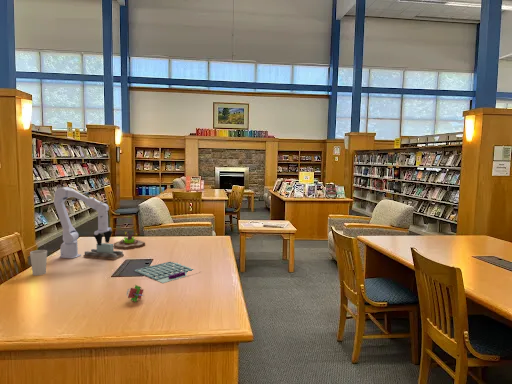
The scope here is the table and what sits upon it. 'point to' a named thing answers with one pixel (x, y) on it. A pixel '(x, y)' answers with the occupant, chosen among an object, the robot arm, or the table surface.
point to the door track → (103, 255)
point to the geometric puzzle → (135, 293)
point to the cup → (38, 262)
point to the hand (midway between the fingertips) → (103, 243)
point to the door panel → (105, 248)
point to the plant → (129, 243)
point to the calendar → (164, 271)
